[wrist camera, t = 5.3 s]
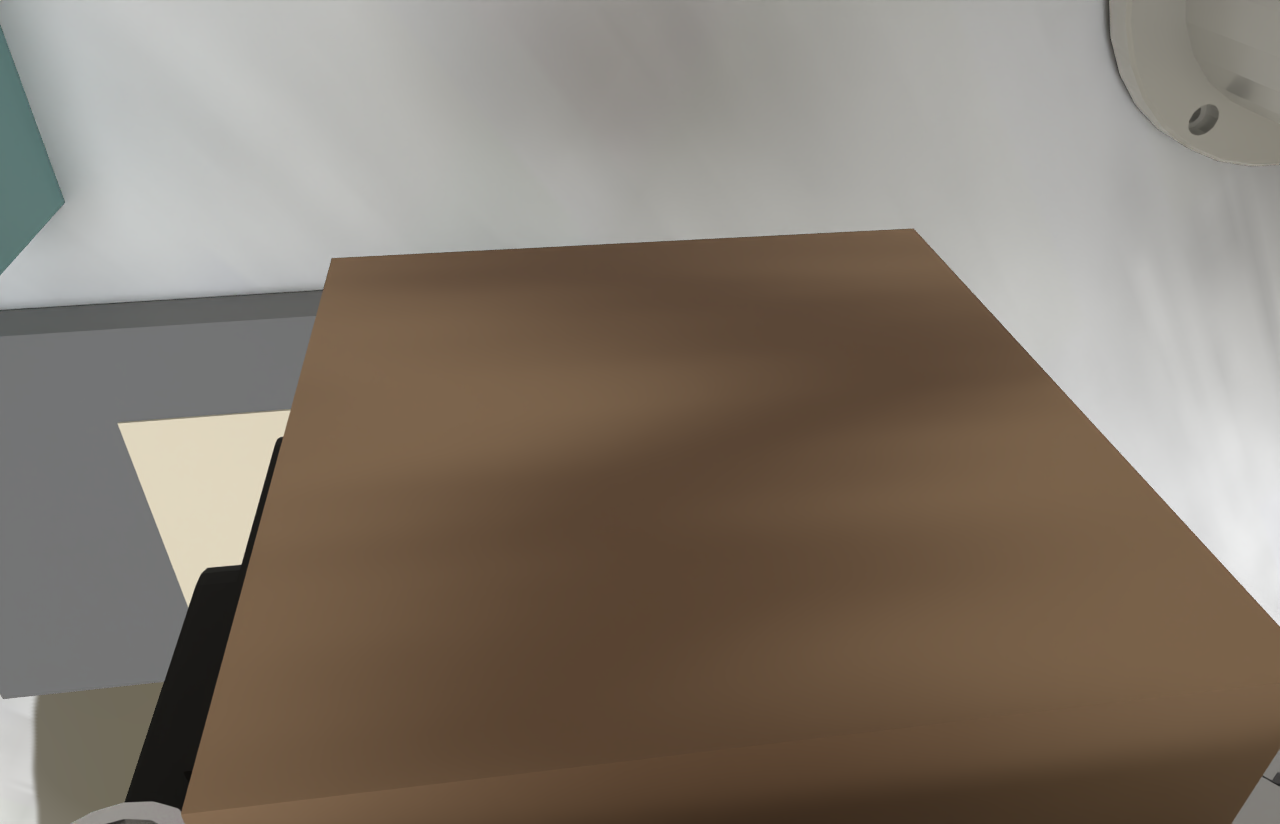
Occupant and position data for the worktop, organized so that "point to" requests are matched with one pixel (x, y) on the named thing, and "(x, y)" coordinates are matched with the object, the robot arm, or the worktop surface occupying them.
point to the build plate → (131, 473)
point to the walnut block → (716, 562)
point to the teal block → (21, 167)
